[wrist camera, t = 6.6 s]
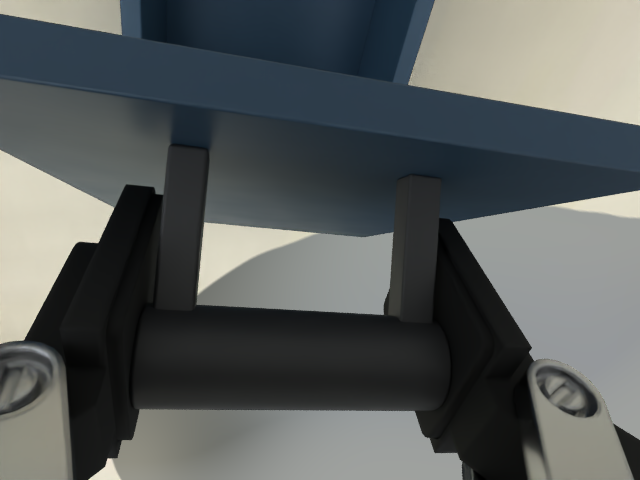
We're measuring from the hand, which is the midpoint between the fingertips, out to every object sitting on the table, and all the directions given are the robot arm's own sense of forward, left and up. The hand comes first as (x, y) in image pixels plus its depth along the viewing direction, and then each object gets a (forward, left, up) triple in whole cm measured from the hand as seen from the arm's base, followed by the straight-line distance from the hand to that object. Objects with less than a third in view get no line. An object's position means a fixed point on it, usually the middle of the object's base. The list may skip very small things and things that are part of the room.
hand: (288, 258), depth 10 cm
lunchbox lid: (+1, +1, -5) cm, 5 cm away
